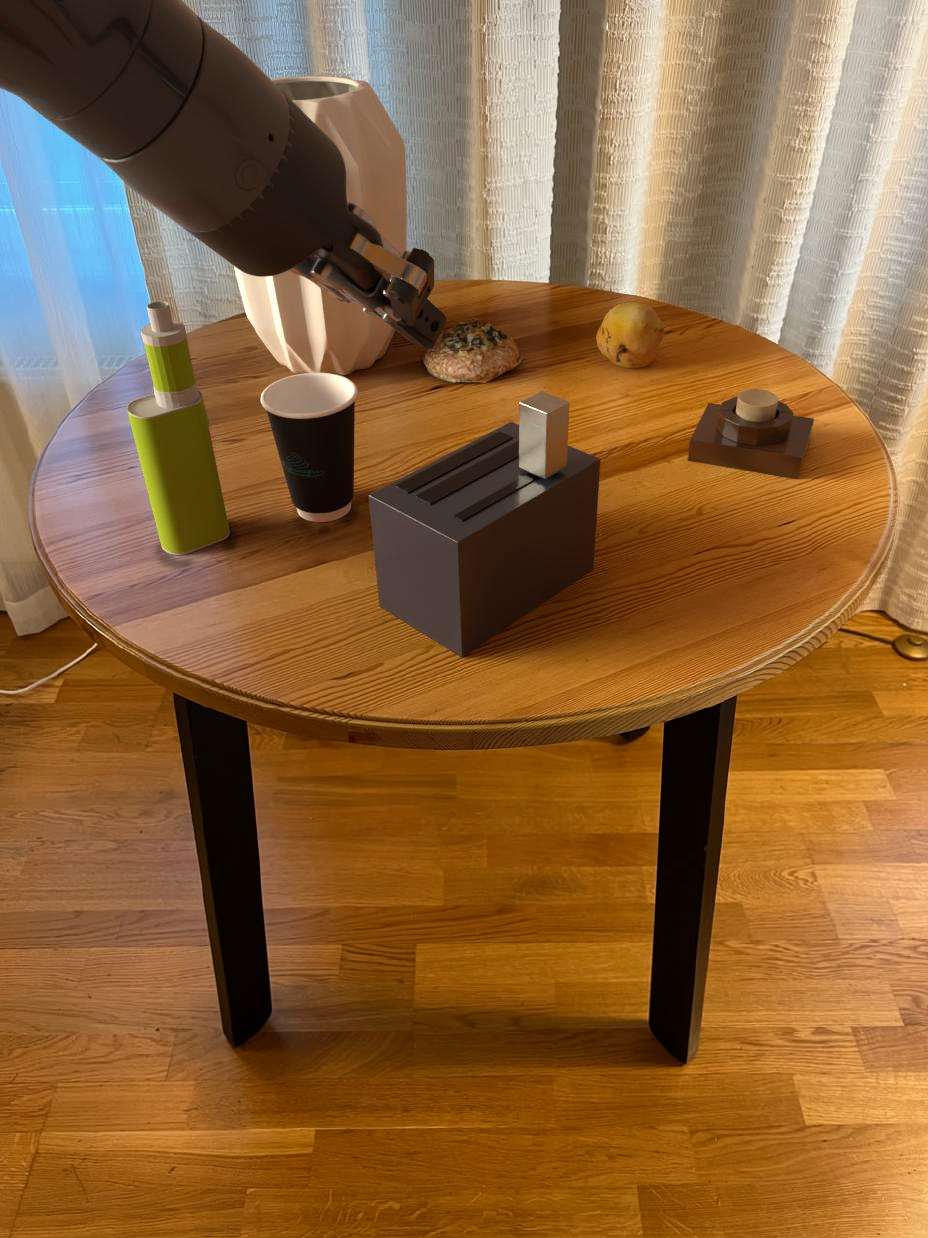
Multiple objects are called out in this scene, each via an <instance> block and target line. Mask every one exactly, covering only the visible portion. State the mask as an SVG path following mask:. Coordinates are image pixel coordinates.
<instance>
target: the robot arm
mask: <svg viewBox="0 0 928 1238" xmlns="http://www.w3.org/2000/svg"><path fill="white" fill-rule="evenodd" d="M272 80H273V79H271V78H270V77H269V76H268V75H267V74H266V73H265V72H264V71H263V70H262V69H261V68H260V67H259V66H258V65H257V64H256V63H255V62H254V61H253V60H252V59H251V58H250V57H249V56H248V55H247V54H245V52H244V51H242V49H240V48H239V47H238V46H237V45H236V44H235V43H233V42H232V41H231V40H229V39H228V38H227V37H226V36H225V35H223V34H222V33H220V32H219V31H218V30H216V29H215V28H213V27H212V26H211V25H209V23H207V22H205V21H204V20H203V19H202V18H201V17H200V16H199V15H198V14H196V12H195V11H193V10H192V9H191V8H190V6H188V5H187V4H186V3H185V2H184V1H183V0H0V89H2V90H3V91H6V92H8V93H11V94H13V95H15V96H17V97H18V98H19V99H20V100H22V101H23V102H24V103H26V104H27V105H28V106H30V107H31V108H32V109H33V110H34V111H35V112H37V113H38V114H39V115H40V116H42V117H43V118H44V119H46V120H47V121H49V122H50V123H51V124H53V125H54V126H55V127H56V128H57V129H59V130H60V131H62V132H63V133H64V134H65V135H67V136H69V138H71V139H72V140H74V141H75V142H77V143H78V144H79V145H81V146H82V147H83V148H85V149H86V150H87V151H88V152H90V153H91V154H92V155H94V156H96V157H97V158H98V160H101V161H102V162H103V163H104V164H105V165H107V167H108V168H109V169H111V171H113V173H115V174H116V175H117V176H118V178H120V179H121V180H122V181H123V183H125V184H126V185H127V186H128V187H129V188H130V189H131V190H132V191H133V192H134V193H136V194H137V195H138V196H139V197H141V198H142V199H143V200H145V201H146V202H147V203H148V204H150V205H151V206H153V207H154V208H155V209H157V210H158V211H159V212H161V213H162V214H163V215H165V216H166V217H167V218H169V219H170V220H172V221H173V223H175V224H177V225H178V226H179V227H181V228H182V229H184V230H185V231H186V232H188V234H190V235H191V236H193V237H194V238H196V239H197V240H198V241H200V242H201V243H203V244H204V245H205V246H207V248H210V249H211V250H212V251H214V252H215V253H217V255H219V256H220V257H221V258H223V259H224V260H225V261H227V262H228V263H230V265H232V266H233V267H234V266H235V267H236V268H238V269H239V270H241V271H242V272H244V273H246V274H249V275H252V276H258V277H268V276H274V275H278V274H281V273H284V272H286V271H288V270H290V271H291V272H292V273H294V274H297V275H300V276H303V277H305V278H307V279H308V280H310V281H312V282H313V283H315V284H316V285H317V286H318V287H320V288H321V289H322V290H324V291H325V292H326V293H328V294H329V295H330V296H332V297H335V298H336V299H338V300H340V301H342V302H343V301H345V302H348V303H350V301H351V302H352V303H353V304H355V305H357V306H359V307H360V308H362V309H363V310H362V311H363V312H365V313H366V314H368V315H370V314H372V315H374V316H377V315H378V316H379V317H380V318H381V319H383V320H384V321H385V322H386V323H388V324H389V325H390V326H391V327H392V328H394V329H395V332H397V333H399V334H400V335H401V336H402V337H403V338H405V340H407V341H408V342H409V343H412V344H415V345H417V346H420V347H422V348H425V349H426V348H427V349H430V348H432V347H433V346H434V345H435V343H436V341H437V339H438V337H439V335H440V333H441V332H443V331H444V328H445V326H446V323H447V316H446V314H445V313H443V312H442V310H440V308H438V307H437V306H436V305H435V304H434V303H433V302H431V301H430V300H429V299H428V298H429V296H430V295H431V293H432V291H433V289H434V288H435V259H434V258H433V257H432V256H431V255H430V253H429V252H428V251H426V250H424V249H422V248H421V249H420V248H417V247H413V248H412V249H411V250H410V251H409V250H408V249H407V250H406V251H404V253H403V255H402V257H401V254H400V252H399V251H398V250H397V249H396V248H395V247H394V246H393V245H392V244H390V243H389V242H388V241H387V240H386V239H385V238H384V237H383V236H382V235H381V234H380V233H379V232H378V231H377V229H376V224H375V221H374V220H373V219H372V218H371V217H370V216H369V215H368V214H367V213H366V212H365V211H364V210H363V209H362V208H360V207H359V206H357V205H355V204H353V203H351V202H347V194H346V168H345V163H344V159H343V157H342V154H341V152H340V150H339V149H338V147H337V146H336V144H335V143H334V142H333V141H332V140H331V139H330V138H329V137H328V136H327V135H326V134H325V133H324V132H323V131H322V130H321V129H320V128H319V127H318V126H317V125H316V124H315V123H314V122H313V121H312V120H311V119H310V118H309V117H308V116H307V115H306V114H305V113H304V112H303V111H302V110H301V109H300V108H299V107H298V106H297V105H296V104H295V103H294V102H293V101H292V100H291V99H290V98H289V97H288V96H287V95H286V94H285V93H284V92H283V91H282V90H281V89H280V88H279V87H278V86H277V85H276V84H275V83H274V82H273V81H272Z"/></svg>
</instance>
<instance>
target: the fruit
mask: <svg viewBox="0 0 928 1238" xmlns="http://www.w3.org/2000/svg"><path fill="white" fill-rule="evenodd" d="M664 338H665V327H664V324H663V321H662V320H661V318H660V317H659V316H658V314H657V312H656V311H655V309H654V308H653V307H651V306H650V305H648V304H645V303H641V302H632V301H628V302H622V303H619V304H617V305H615V306H613V307H612V308H610V309H609V310H608V312H607V313H606V314H605V316H604V318H603V320H602V322H601V324H600V325H599V328H598V330H597V332H596V337H595V339H596V344H597V347H598V350H599V352H600V353H601V354H602V355H604V357H606V358H607V359H608V360H609V361H610V362H611V363H612V364H614V365H615V366H618V367H622V368H625V369H639V368H643V367H645V366H647V365H649V364H650V363H652V362H653V361H654V360H655V359H656V357H657V354H658V351H659V349H660V346H661V344H662V342H663V341H664Z"/></svg>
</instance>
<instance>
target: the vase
mask: <svg viewBox="0 0 928 1238" xmlns="http://www.w3.org/2000/svg"><path fill="white" fill-rule="evenodd" d="M271 80H272V81H273V82H274V83H275V84H276V85H277V86H278V87H279V88H280V89H281V90H282V91H283V92H284V93H285V94H286V95H287V96H288V97H289V98H290V99H291V100H292V101H293V102H294V103H295V104H296V105H297V106H298V107H299V108H300V109H301V110H302V111H303V112H304V113H305V114H306V115H307V116H308V117H309V118H310V119H311V120H312V121H313V122H314V123H315V124H316V125H317V126H318V127H319V128H320V129H321V130H322V131H323V132H324V133H325V134H326V135H327V136H328V137H329V138H330V139H331V140H332V141H333V142H334V143H335V144H336V146H337V147H338V149H339V150H340V152H341V154H342V157H343V159H344V163H345V168H346V194H347V202H351V203H353V204H355V205H357V206H359V207H360V208H362V209H363V210H364V211H365V212H366V213H367V214H368V215H369V216H370V217H371V218H372V219H373V220H374V221H375V224H376V229H377V231H378V232H379V233H380V234H381V235H382V236H383V237H384V238H385V239H386V240H387V241H388V242H389V243H390V244H392V245H393V246H394V247H395V248H396V249H397V250H398V251H399V252H400V254H401V257H402V255H403V253H404V251H406V250H407V251H408V247H407V246H408V245H407V244H408V243H407V242H408V239H407V237H408V236H407V232H408V231H407V227H408V225H407V218H408V217H407V215H408V214H407V211H408V210H407V208H408V207H407V205H408V203H407V202H408V201H407V197H408V194H407V193H408V191H407V189H408V188H407V187H408V186H407V165H406V164H407V163H406V162H407V161H406V146H405V141H404V139H403V137H402V135H401V133H400V132H399V129H398V128H397V127H396V125H395V123H394V122H393V120H392V118H391V117H390V115H389V113H388V111H387V110H386V108H385V106H384V105H383V103H382V101H381V100H380V99H379V97H378V94H376V92H375V90H374V89H373V87H372V86H371V84H370V83H369V82H367V81H366V80H359V79H352V78H351V77H350V76H347V75H346V76H345V75H343V76H342V75H341V76H329V75H324V74H312V75H304V76H289V75H287V76H281V77H278V78H273V79H271ZM233 268H234V273H235V277H236V280H237V281H236V282H237V285H238V288H239V293H240V296H241V297H240V298H241V301H242V304H243V309H244V312H245V314H246V318H247V320H248V321H249V323H250V324H251V325H252V327H253V329H254V330H255V333H256V335H257V336H258V337H259V339H260V341H262V343H263V344H264V346H265V347H266V348H267V351H269V353H270V354H271V355H272V356H273V358H274V359H275V360H276V362H277V363H278V364H280V365H281V366H284V367H287V369H288V370H289V371H290V372H292V373H293V374H296V375H297V374H304V373H330V374H336V375H340V376H348V375H350V374H351V373H353V372H355V371H360V370H366V369H369V368H371V367H372V366H373V364H374V363H375V361H377V360H379V359H381V358H383V357H384V355H385V353H386V352H387V350H388V348H389V346H390V343H391V340H392V339H393V336H394V335H395V332H396V330H395V329H394V328H392V327H391V326H390V325H389V324H388V323H386V322H385V321H384V320H383V319H381V318H380V317H379V316H378V315H377V316H374V315H372V314H370V315H368V314H366V313H365V312H363V311H362V310H363V309H362V308H360V307H359V306H357V305H355V304H353V303H352V302H351V301H350V303H348V302H345V301H343V302H342V301H340V300H338V299H336V298H335V297H332V296H330V295H329V294H328V293H326V292H325V291H324V290H322V289H321V288H320V287H318V286H317V285H316V284H315V283H313V282H312V281H310V280H308V279H307V278H305V277H303V276H300V275H297V274H294V273H292V272H291V271H290V270H288V271H286V272H284V273H281V274H278V275H274V276H268V277H258V276H252V275H249V274H246V273H244V272H242V271H241V270H239V269H238V268H236V267H235V266H234V265H233Z"/></svg>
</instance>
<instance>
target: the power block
mask: <svg viewBox="0 0 928 1238" xmlns="http://www.w3.org/2000/svg"><path fill="white" fill-rule="evenodd" d="M737 399H738V396H733V397H731V398H728V399H726V400H724V401H722V402H721V404H720V403H713V402H708V403H707V404H706V407H705V409H704V411H703V413H702V415H701V416H700V419H699V421H698V423H697V425H696V427H695V429H694V431H693V432H692V435H691V437H690V439H689V446H688V453H687V461H688V462H694V463H700V464H706V465H713V466H718V467H724V468H730V469H737V470H741V471H747V472H754V473H760V474H765V475H771V476H778V477H783V478H788V479H789V478H790V479H795V480H798V479H799V477H800V473H801V470H802V468H803V464H804V460H805V457H806V454H807V451H808V447H809V445H810V441H811V438H812V432H813V428H814V423H815V417H808V416H807V417H806V416H800V415H794V412H793V410H792V409H791V408H790V407H789V405H788V404H786V403H784V402H782V401H779V400H778V406H777V411H776V417H775V419H774V420H771V421H765V422H754V421H747V420H744V419H742V418H740V417H738V416H736V414H735V412H736V405H737Z"/></svg>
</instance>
